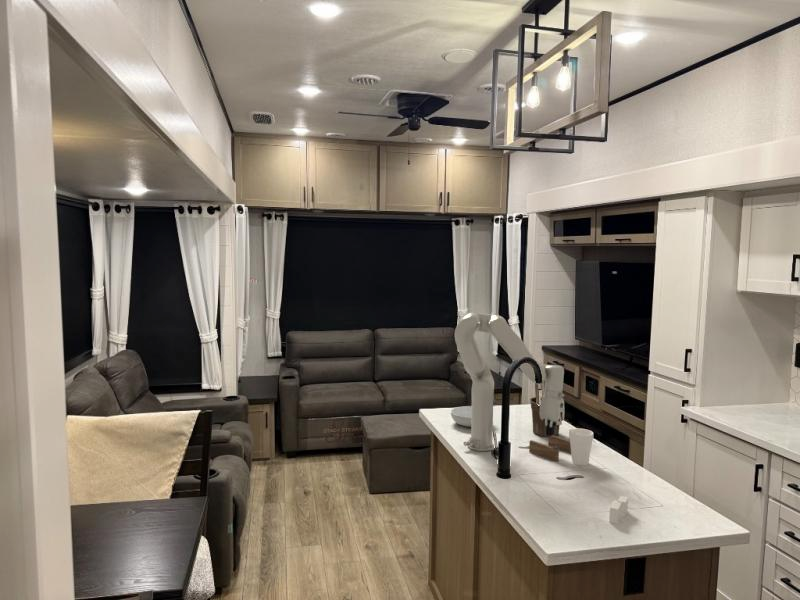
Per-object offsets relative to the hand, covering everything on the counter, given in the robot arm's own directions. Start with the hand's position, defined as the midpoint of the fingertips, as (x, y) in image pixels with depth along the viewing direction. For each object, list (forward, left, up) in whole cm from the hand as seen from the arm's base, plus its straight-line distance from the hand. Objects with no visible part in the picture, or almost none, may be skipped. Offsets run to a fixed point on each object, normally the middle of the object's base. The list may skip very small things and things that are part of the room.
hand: (549, 435), depth 233 cm
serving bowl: (+2, +49, -8) cm, 50 cm away
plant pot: (+21, +17, -8) cm, 29 cm away
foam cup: (0, -15, -8) cm, 17 cm away
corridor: (+1, -2, -8) cm, 8 cm away
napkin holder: (-32, -51, -8) cm, 61 cm away
